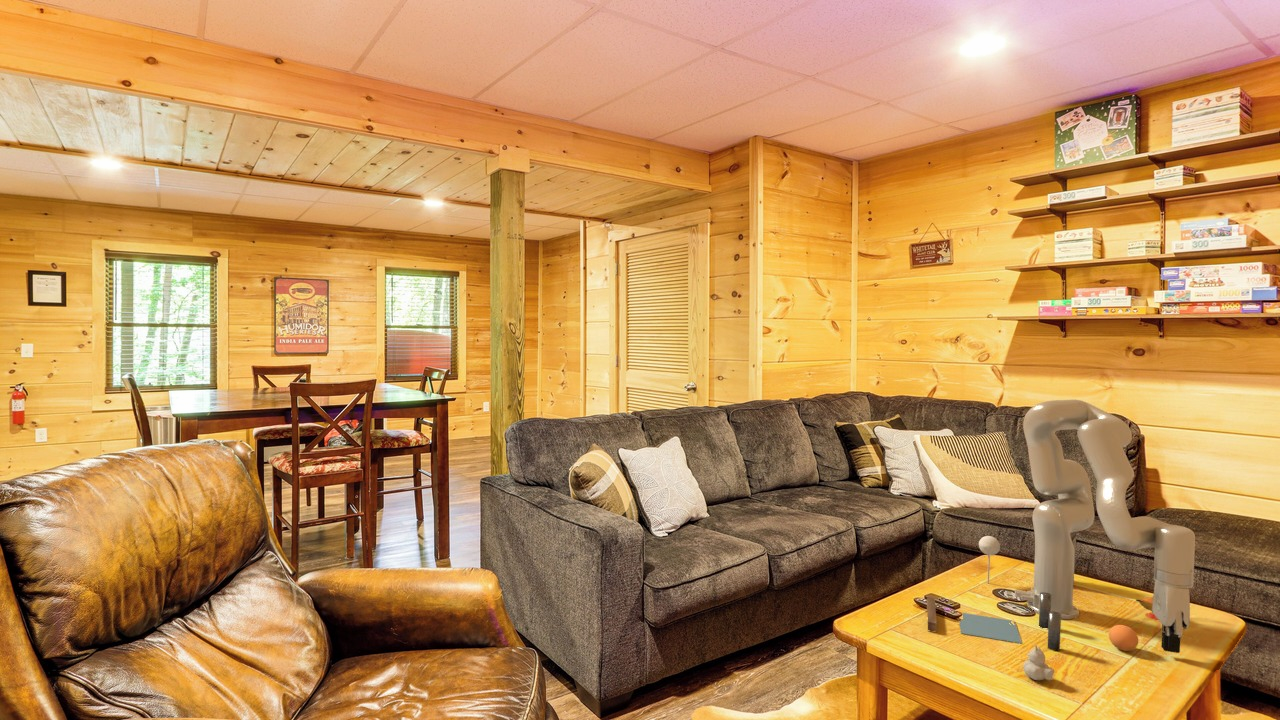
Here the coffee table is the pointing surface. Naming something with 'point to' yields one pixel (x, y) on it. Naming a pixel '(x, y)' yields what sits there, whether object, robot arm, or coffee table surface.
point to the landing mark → (989, 628)
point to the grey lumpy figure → (1037, 666)
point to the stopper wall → (931, 613)
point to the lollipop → (989, 548)
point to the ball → (1123, 637)
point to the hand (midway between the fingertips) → (1170, 650)
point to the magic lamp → (1148, 606)
